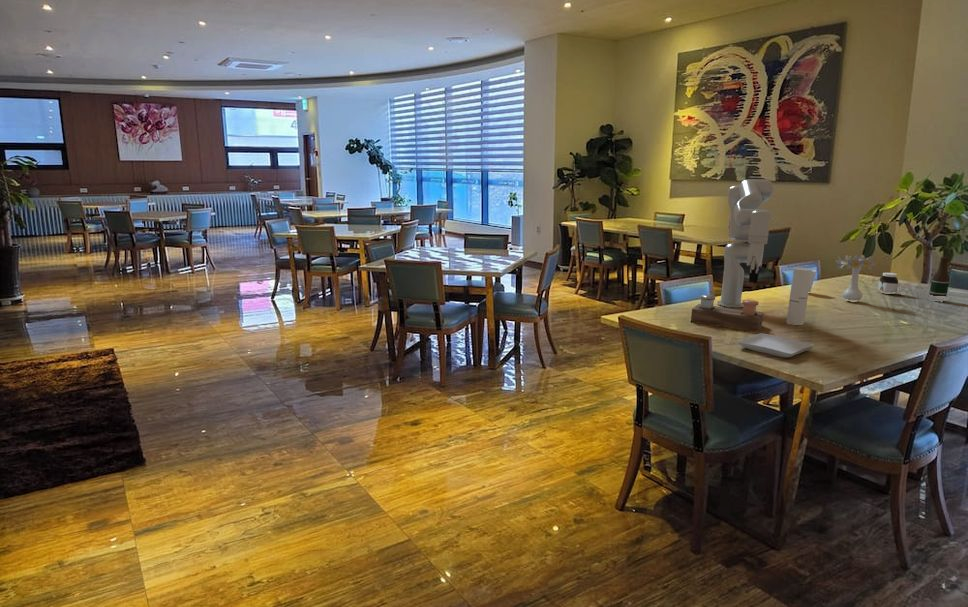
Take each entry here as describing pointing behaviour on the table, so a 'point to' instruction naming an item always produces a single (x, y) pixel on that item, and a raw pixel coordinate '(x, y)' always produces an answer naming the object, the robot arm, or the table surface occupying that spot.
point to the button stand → (727, 318)
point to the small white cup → (707, 301)
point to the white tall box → (798, 296)
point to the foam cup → (812, 279)
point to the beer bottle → (940, 279)
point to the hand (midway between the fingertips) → (752, 282)
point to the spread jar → (889, 283)
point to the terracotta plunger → (749, 307)
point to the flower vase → (854, 274)
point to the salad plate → (775, 345)
